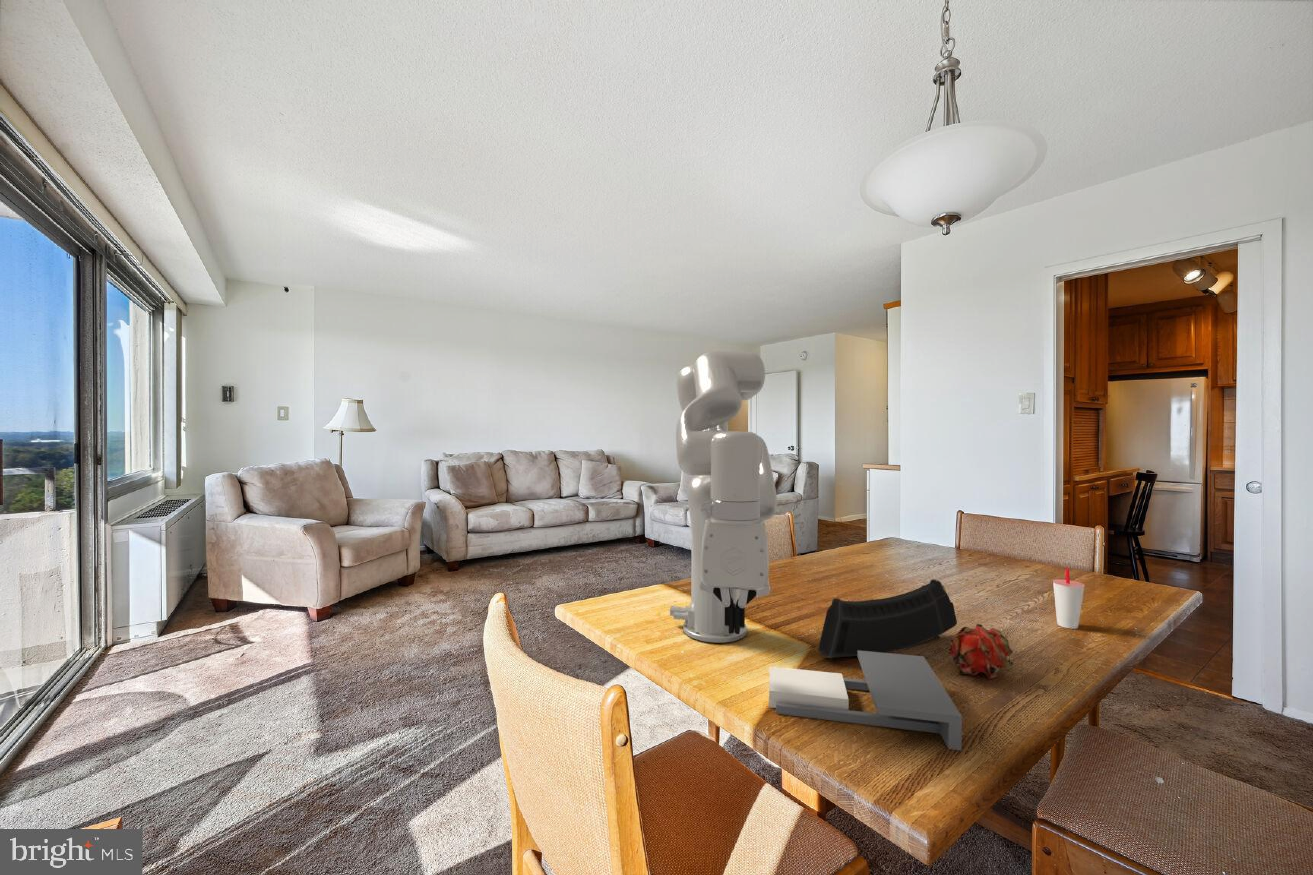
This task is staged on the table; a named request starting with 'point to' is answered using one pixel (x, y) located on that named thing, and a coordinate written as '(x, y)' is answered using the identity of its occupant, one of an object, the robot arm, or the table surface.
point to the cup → (1068, 601)
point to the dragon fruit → (980, 651)
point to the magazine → (887, 622)
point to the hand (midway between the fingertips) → (734, 630)
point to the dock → (895, 698)
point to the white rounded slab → (807, 688)
